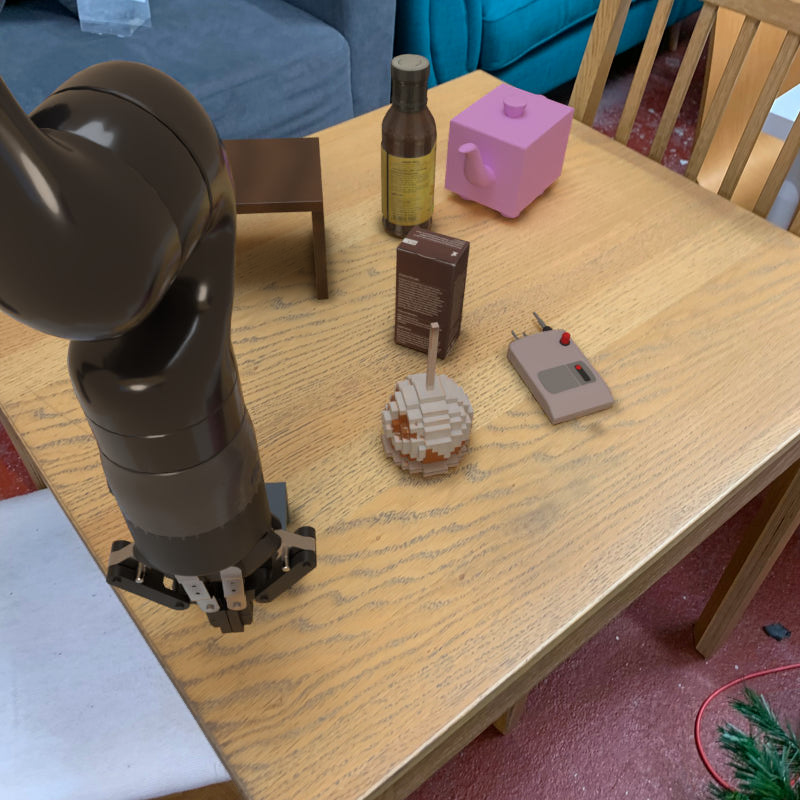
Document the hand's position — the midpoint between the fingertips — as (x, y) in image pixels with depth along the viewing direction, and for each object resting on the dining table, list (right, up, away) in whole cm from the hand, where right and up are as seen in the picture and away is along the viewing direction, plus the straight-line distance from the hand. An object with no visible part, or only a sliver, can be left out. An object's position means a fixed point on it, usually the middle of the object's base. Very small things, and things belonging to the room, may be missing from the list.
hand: (233, 620), depth 53 cm
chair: (-1, +3, +10) cm, 10 cm away
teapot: (+24, +41, +45) cm, 65 cm away
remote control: (+27, +18, +25) cm, 40 cm away
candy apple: (+14, +11, +18) cm, 25 cm away
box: (+14, +21, +27) cm, 38 cm away
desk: (-5, +30, +34) cm, 46 cm away
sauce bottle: (+12, +36, +41) cm, 56 cm away
